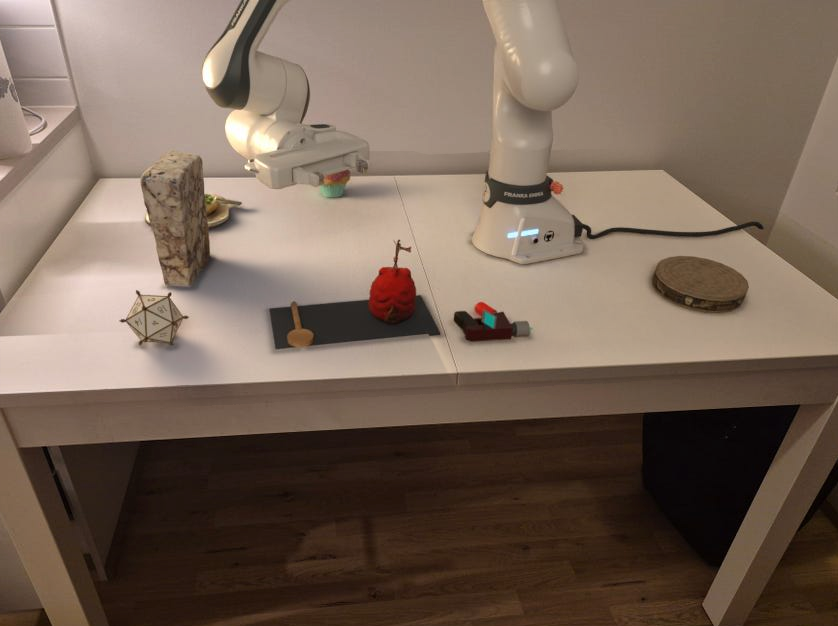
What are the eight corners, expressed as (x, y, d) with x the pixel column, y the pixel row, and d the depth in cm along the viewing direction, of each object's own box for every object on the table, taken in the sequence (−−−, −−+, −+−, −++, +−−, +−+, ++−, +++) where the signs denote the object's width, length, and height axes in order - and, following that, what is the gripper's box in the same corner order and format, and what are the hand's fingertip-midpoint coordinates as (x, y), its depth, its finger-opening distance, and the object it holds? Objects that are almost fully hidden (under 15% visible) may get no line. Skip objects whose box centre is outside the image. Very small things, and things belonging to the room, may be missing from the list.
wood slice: (659, 262, 128) (663, 248, 126) (746, 283, 123) (752, 269, 121) (644, 297, 117) (648, 282, 115) (739, 322, 111) (745, 307, 109)
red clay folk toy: (412, 304, 110) (417, 222, 101) (417, 327, 105) (423, 242, 96) (367, 305, 109) (368, 222, 101) (369, 328, 104) (371, 242, 95)
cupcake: (348, 201, 147) (348, 148, 140) (311, 200, 146) (308, 146, 139) (351, 187, 154) (351, 136, 146) (315, 186, 153) (313, 134, 146)
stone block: (201, 290, 112) (183, 177, 101) (160, 289, 112) (137, 175, 100) (216, 255, 123) (201, 149, 111) (178, 254, 123) (160, 148, 111)
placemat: (420, 297, 113) (420, 295, 113) (440, 335, 104) (440, 332, 104) (269, 310, 108) (269, 308, 107) (275, 351, 98) (275, 349, 98)
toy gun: (535, 340, 104) (541, 314, 101) (463, 345, 102) (466, 319, 99) (516, 308, 112) (520, 284, 109) (448, 313, 109) (450, 287, 107)
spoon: (281, 306, 108) (280, 301, 108) (305, 304, 109) (305, 299, 108) (288, 348, 98) (288, 343, 98) (315, 345, 99) (315, 340, 99)
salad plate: (241, 196, 146) (239, 176, 144) (244, 229, 132) (242, 208, 130) (150, 200, 142) (146, 180, 140) (144, 235, 128) (139, 213, 126)
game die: (165, 368, 100) (141, 347, 91) (126, 334, 102) (98, 311, 92) (205, 325, 102) (186, 301, 93) (167, 293, 104) (144, 266, 94)
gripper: (236, 145, 103) (288, 169, 95) (337, 122, 114) (391, 141, 106) (241, 183, 106) (291, 210, 98) (338, 157, 118) (390, 179, 110)
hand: (344, 174), depth 102 cm, fingers open, 8 cm apart
